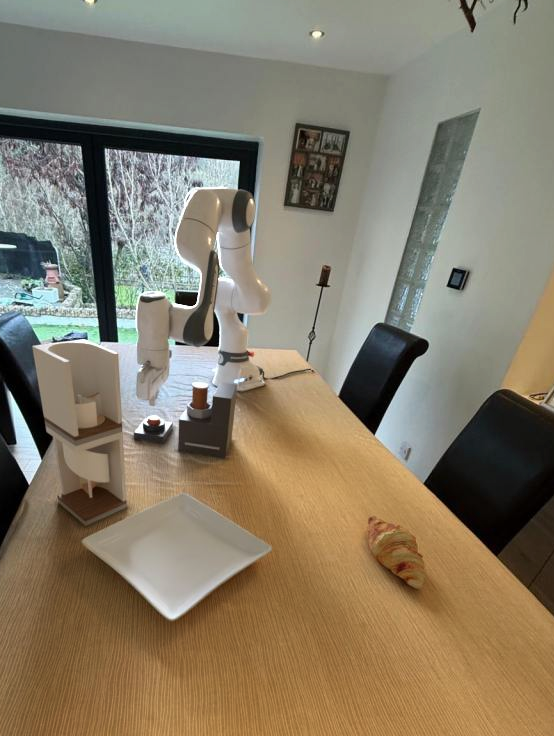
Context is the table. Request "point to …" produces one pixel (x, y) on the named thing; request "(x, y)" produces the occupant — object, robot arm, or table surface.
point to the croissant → (396, 550)
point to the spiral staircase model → (84, 425)
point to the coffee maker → (209, 424)
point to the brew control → (153, 431)
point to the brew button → (153, 420)
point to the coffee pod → (199, 395)
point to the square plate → (176, 552)
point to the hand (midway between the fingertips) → (153, 404)
